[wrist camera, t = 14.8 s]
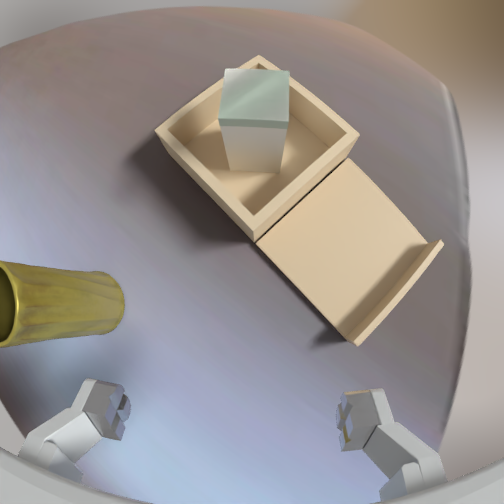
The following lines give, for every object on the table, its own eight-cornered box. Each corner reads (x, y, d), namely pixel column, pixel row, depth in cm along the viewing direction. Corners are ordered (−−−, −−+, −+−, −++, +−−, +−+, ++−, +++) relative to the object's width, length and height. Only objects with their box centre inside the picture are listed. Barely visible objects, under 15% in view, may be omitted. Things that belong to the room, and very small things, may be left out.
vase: (117, 343, 26) (17, 373, 12) (68, 321, 27) (-37, 330, 12) (132, 282, 27) (32, 268, 13) (81, 264, 27) (-24, 240, 13)
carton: (229, 170, 27) (217, 118, 18) (234, 128, 28) (225, 68, 19) (279, 173, 27) (288, 121, 18) (281, 130, 28) (289, 71, 19)
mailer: (169, 154, 29) (154, 130, 24) (259, 85, 30) (258, 54, 25) (347, 341, 26) (366, 350, 21) (428, 248, 27) (456, 240, 22)
